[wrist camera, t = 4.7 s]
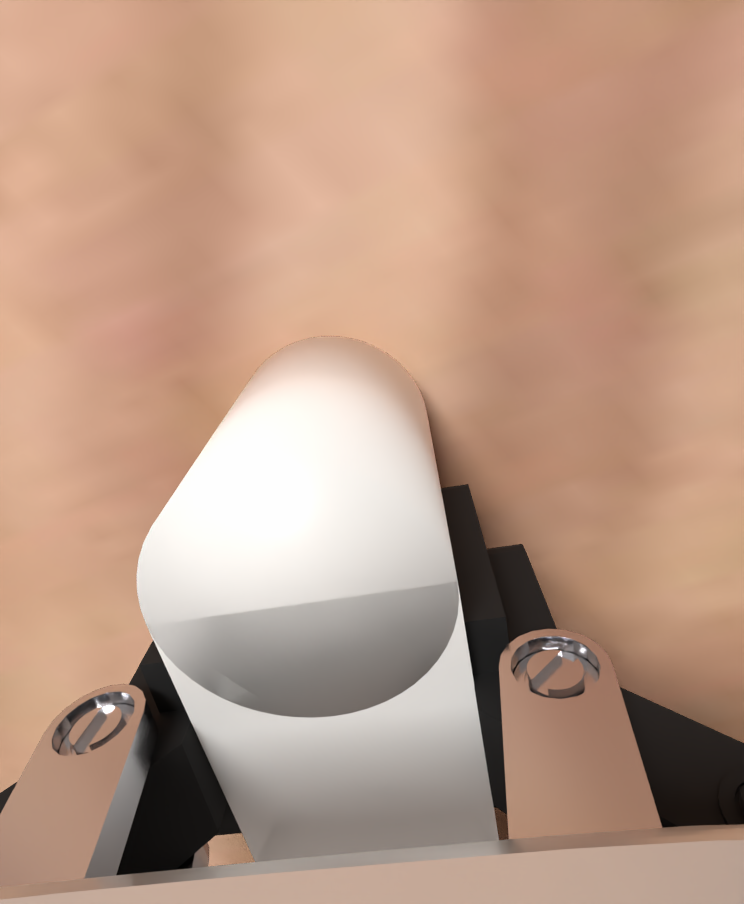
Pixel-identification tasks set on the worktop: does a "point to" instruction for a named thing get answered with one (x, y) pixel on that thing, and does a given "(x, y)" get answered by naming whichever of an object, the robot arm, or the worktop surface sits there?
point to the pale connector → (322, 613)
